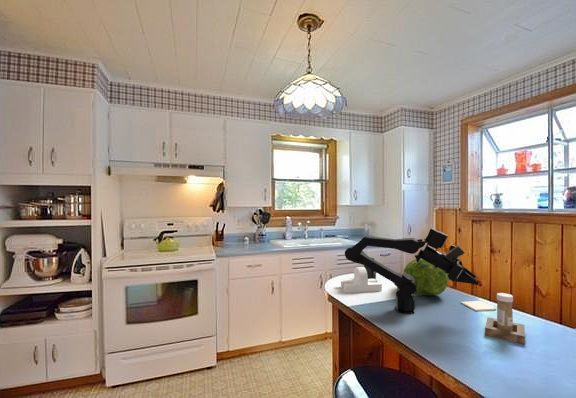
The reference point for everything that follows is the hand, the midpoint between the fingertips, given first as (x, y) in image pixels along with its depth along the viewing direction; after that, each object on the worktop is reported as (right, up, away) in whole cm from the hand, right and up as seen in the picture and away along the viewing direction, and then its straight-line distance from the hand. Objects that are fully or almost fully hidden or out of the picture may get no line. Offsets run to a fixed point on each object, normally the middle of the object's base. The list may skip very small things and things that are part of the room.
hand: (476, 280), depth 109 cm
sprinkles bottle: (+4, -16, -9) cm, 19 cm away
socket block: (+4, -16, -9) cm, 19 cm away
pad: (+10, -15, +15) cm, 24 cm away
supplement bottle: (-24, -16, +58) cm, 65 cm away
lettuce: (-5, -16, +33) cm, 37 cm away
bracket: (-33, -16, +41) cm, 55 cm away
